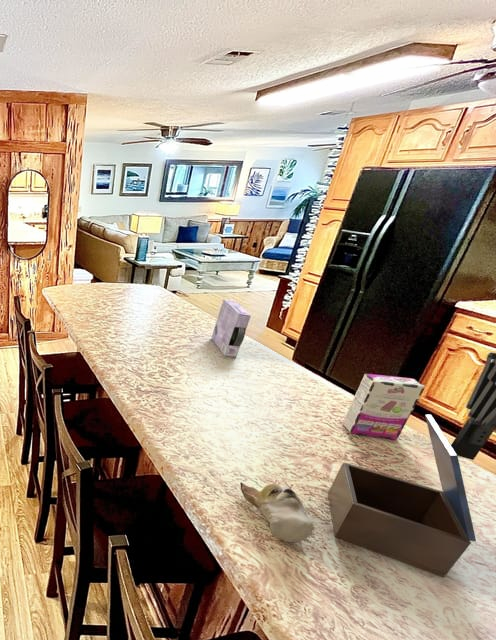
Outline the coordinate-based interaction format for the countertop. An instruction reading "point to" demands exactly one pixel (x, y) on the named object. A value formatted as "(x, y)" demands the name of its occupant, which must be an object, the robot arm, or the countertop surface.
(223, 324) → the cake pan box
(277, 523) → the ceramic sculpture
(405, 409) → the candy bar box
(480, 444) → the robot arm
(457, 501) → the chest lid
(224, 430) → the countertop surface
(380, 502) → the chest
